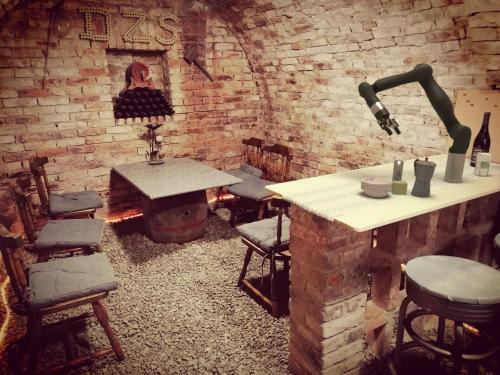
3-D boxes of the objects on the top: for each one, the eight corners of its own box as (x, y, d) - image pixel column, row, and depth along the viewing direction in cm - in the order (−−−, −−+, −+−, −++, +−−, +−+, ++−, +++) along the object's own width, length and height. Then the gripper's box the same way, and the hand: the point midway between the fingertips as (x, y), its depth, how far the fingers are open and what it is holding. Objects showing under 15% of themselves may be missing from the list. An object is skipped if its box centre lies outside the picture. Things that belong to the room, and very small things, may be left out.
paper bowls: (366, 189, 193) (368, 175, 191) (395, 194, 184) (396, 179, 182) (355, 195, 182) (356, 180, 179) (384, 201, 172) (386, 185, 170)
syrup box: (482, 174, 229) (486, 152, 225) (487, 176, 223) (492, 154, 220) (473, 174, 230) (477, 152, 226) (478, 176, 224) (482, 153, 220)
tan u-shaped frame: (382, 185, 200) (383, 175, 198) (401, 186, 199) (402, 176, 197) (389, 194, 184) (390, 182, 183) (409, 195, 183) (410, 183, 181)
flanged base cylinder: (389, 183, 205) (392, 159, 202) (400, 183, 205) (403, 160, 201) (391, 186, 200) (394, 161, 196) (403, 186, 199) (406, 162, 195)
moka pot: (422, 199, 175) (428, 160, 170) (401, 191, 189) (406, 154, 184) (438, 198, 178) (444, 159, 172) (416, 190, 192) (421, 153, 186)
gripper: (377, 107, 194) (393, 130, 189) (391, 107, 203) (407, 129, 197) (367, 116, 200) (383, 139, 194) (382, 115, 208) (397, 137, 203)
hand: (395, 134), depth 196 cm, fingers open, 8 cm apart
